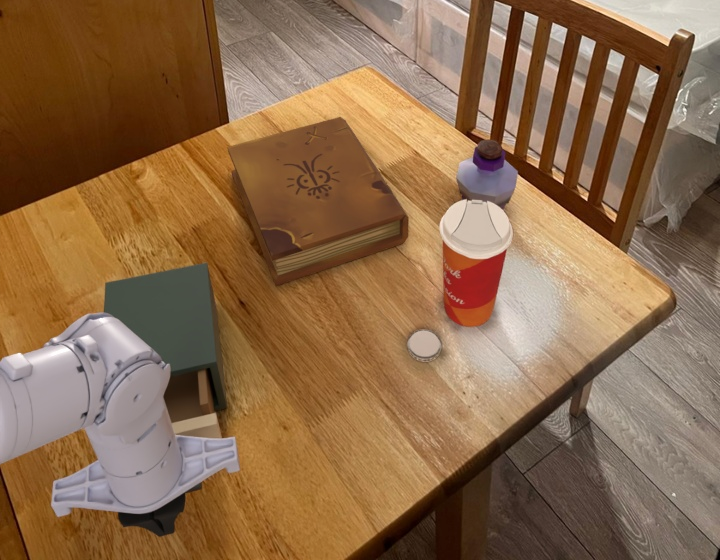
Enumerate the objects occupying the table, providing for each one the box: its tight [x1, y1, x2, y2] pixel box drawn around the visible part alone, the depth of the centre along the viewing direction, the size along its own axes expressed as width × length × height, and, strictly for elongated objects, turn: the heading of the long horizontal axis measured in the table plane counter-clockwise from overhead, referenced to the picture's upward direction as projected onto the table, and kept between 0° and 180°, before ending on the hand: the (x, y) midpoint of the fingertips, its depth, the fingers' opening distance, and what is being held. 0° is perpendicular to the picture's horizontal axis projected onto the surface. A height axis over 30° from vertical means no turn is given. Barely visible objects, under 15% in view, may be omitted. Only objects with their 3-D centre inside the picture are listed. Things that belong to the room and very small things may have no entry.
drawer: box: [163, 368, 223, 494], centre depth 75 cm, size 17×10×7 cm, turn 14°
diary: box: [227, 116, 410, 286], centre depth 103 cm, size 23×19×6 cm
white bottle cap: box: [406, 328, 442, 363], centre depth 85 cm, size 4×4×1 cm
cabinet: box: [103, 262, 228, 412], centre depth 82 cm, size 14×12×9 cm
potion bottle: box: [455, 138, 519, 211], centre depth 100 cm, size 9×9×12 cm
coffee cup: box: [439, 199, 514, 328], centre depth 86 cm, size 8×8×15 cm
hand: (166, 523), depth 64 cm, fingers closed
